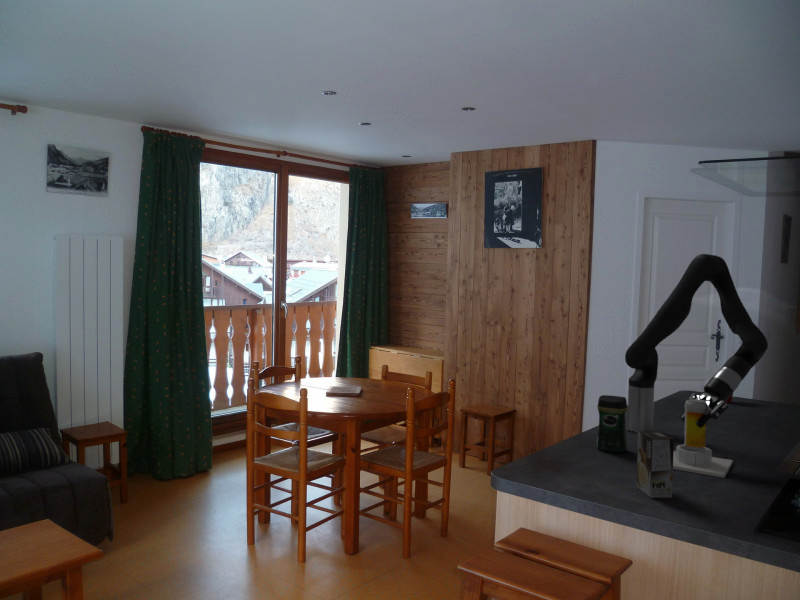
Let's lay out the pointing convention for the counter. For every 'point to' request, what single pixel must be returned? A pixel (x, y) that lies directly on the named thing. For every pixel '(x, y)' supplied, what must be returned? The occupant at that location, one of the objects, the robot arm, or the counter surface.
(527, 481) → the counter surface
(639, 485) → the coffee box
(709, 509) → the counter surface
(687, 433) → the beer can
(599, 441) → the coffee jar
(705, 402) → the robot arm
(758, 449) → the counter surface
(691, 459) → the base
